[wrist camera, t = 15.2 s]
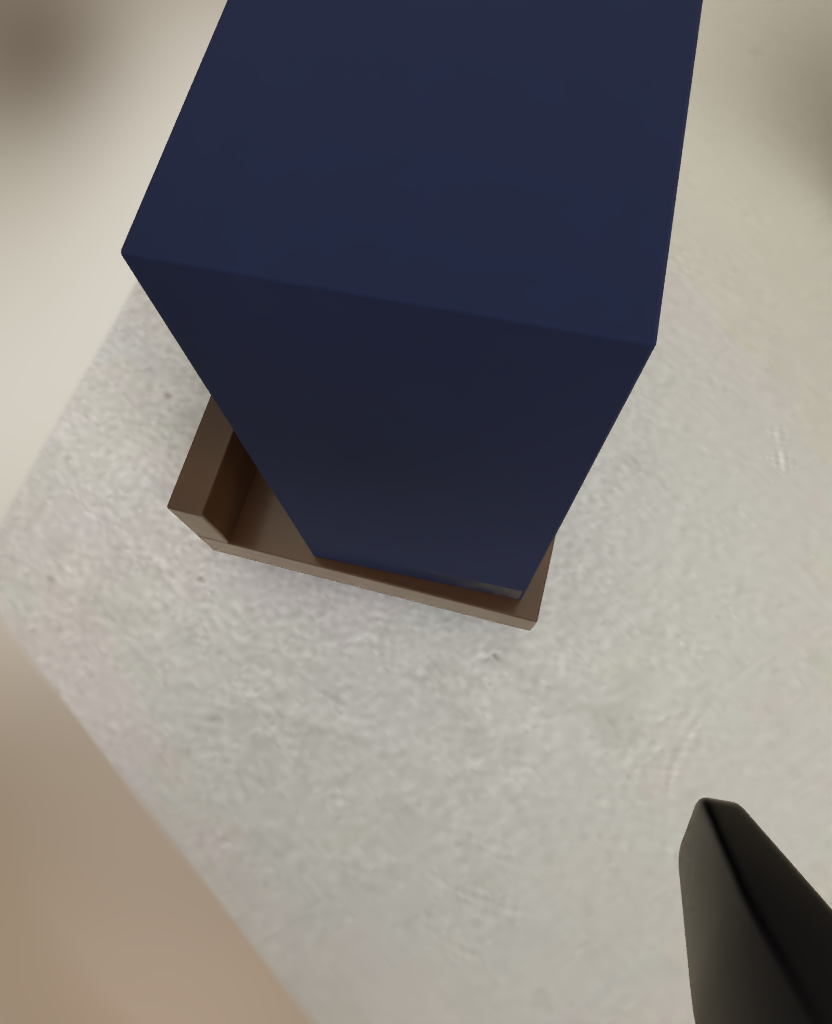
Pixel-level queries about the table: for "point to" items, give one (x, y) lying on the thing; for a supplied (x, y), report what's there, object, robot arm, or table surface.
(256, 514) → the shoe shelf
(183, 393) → the table surface
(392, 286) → the navy blue box
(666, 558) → the table surface
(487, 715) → the table surface
